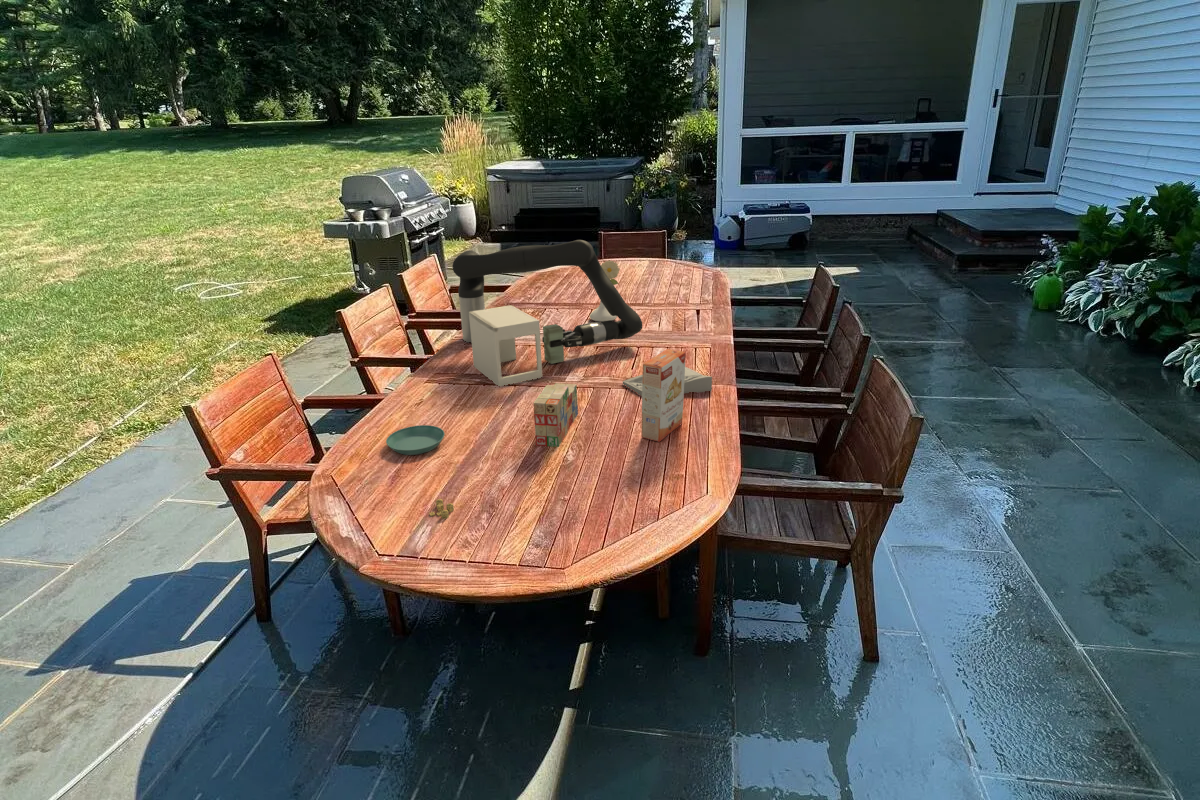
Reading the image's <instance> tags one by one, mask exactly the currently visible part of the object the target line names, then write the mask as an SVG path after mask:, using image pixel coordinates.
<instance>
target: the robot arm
mask: <svg viewBox="0 0 1200 800" xmlns="http://www.w3.org/2000/svg"><path fill="white" fill-rule="evenodd" d="M455 257H456V258H454V260H453V262H452V271H453V273H454V275H456V276H457V277H459V284H458V285H459V286H458V289H457V292H458V301H459V302H458V303H459V312H460V322H461V331H462V340H464V341H463V342H465V341H466V342H465V343H469V342H471V344H472V341H471V331H470V321H469V312H471V311H477V310H484V309H486V308H485V295H484V289H485V276H489V275H502V274H503V275H505V274H506V275H508V274H523V273H530V272H536V271H541V270H545V269H548V268H552V267H562V266H563V267H564V266H565V267H570V266H571V267H579V268H580V270H581V271H582V272H583V273H584V274H585V275H586V277H587V278H588V280H589V282H590V283H591V285H592V286H593V289H594V291H595V292H596V295H597V296H598V298H599V300H601V302H602V303H603V305H604V306H605V308H606V309H607V310H608V312H609V313H610V315H612V316H617V318H618V319H619V320H617V321H614V320H608V321H602V322H599V321H595V322H594V321H593V322H588V323H584V324H583V323H582V324H577V325H575V327H574V329H573V330H565V328H563V338H562V339H558V340H553V341H550V342H549V345H550V347H551V348H552V347H557V346H560V345H561V346H562V347H564V348H566V349H567V348H575V347H586V346H590V345H591V346H592V345H596V344H600V343H602V342H608V341H613V340H625V339H628V338H632V337H633V336H636V334H638V333H639V332H641V330H642V328H643V321H642V319H641V316H640V315H639V314H638V313H637V312H636V311H635V310H634V309H633V308H632V307H631V306H630V305H628V304H627V303H626V301H625V300H624V298H623V297H622V295H621V293H620V292H619V291H618V290H617V288H616V287H615V285H613V284H612V282H611V281H610V280H611V279H609V278H608V277H607V275H606V273H605V272H604V270H603V268H602V267H601V265H602V264H601V263H600V261H599V259H598V257H597V255H596V252H595V250H594V247H593V245H592V244H591V243H590V242H588V241H586V240H583V239H576V240H573V241H568V242H564V243H558V244H552V245H551V244H550V245H543V244H542V245H538V244H537V245H535V244H533V245H524V246H523V245H522V246H521V245H520V246H514V247H508V248H506V249H501V250H499V251H496V252H491V253H487V254H486V253H485V254H479V253H478V252H476V251H473V250H466V251H464V252H462V253H461V254H459V255H457V256H455ZM541 339H542V344H544V338H543V337H542V338H541Z"/></svg>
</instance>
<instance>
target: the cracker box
mask: <svg viewBox="0 0 1200 800" xmlns="http://www.w3.org/2000/svg"><path fill="white" fill-rule="evenodd" d="M686 354H687V353H686V352H685V351H682V350H675V349H670V348H667V349H665V350H663V351H662V352H660V353H658V354H657V355H655V356H653V357H651V358H650V359H648V360H647V361H645V362H643V363H642V375H643V380H642V396H641V432H640V433H641V434H640V435H641V438H642V439H646V440H650V441H653V442H654V441H655V442H658V443H660V442H661V441H663V440H664V439H665V438H666V437H667V436H669V435H670V434H671V433H672V432H673V431H674V430H676V429H677V428H678V427H680V426H681V425H682V424H683V419H684V417H683V415H684V413H683V412H684V401H685V400H684V399H685V398H684V394H685V393H684V379H685V367H686V359H687V358H686V356H687V355H686ZM680 424H681V425H680Z"/></svg>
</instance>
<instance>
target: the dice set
mask: <svg viewBox="0 0 1200 800" xmlns="http://www.w3.org/2000/svg"><path fill="white" fill-rule="evenodd" d="M435 504H436V505H435V506H436V509H437V512H436V513H435V512H434V511H432V512H428V513H429V516H430V517H434V516H436V515H437V517H441V519H442V520H443V519H444V520H445V519H448V518H449V513H451V512H454V510H455V507H454V504H453V503H452V502H451V503H447V504H446V509H445V507H444V500H443V499H442V498H438V499H436V500H435Z"/></svg>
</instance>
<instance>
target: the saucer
mask: <svg viewBox="0 0 1200 800" xmlns="http://www.w3.org/2000/svg"><path fill="white" fill-rule="evenodd" d="M445 435H446V434H445V431H444V430H443V428H441V427H438V426H435V425H428V424H427V425H426V424H422V425H413V426H408V427H404V428H401V429H398V430H396V431H394V432H392V433H391V434H389V435H388V436H387V438H386V439H385V443H386V445H387V446H388V447H389V448H390V449H391V450H393V451H394V452H396V453H398V454H401V455H405V456H414V455H421V454H425V453H429V452H430V451H433V450H434V449H436V448H437V447H438V446H439V445H440V444H441V442H442V441H443V440H444V438H445Z"/></svg>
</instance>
